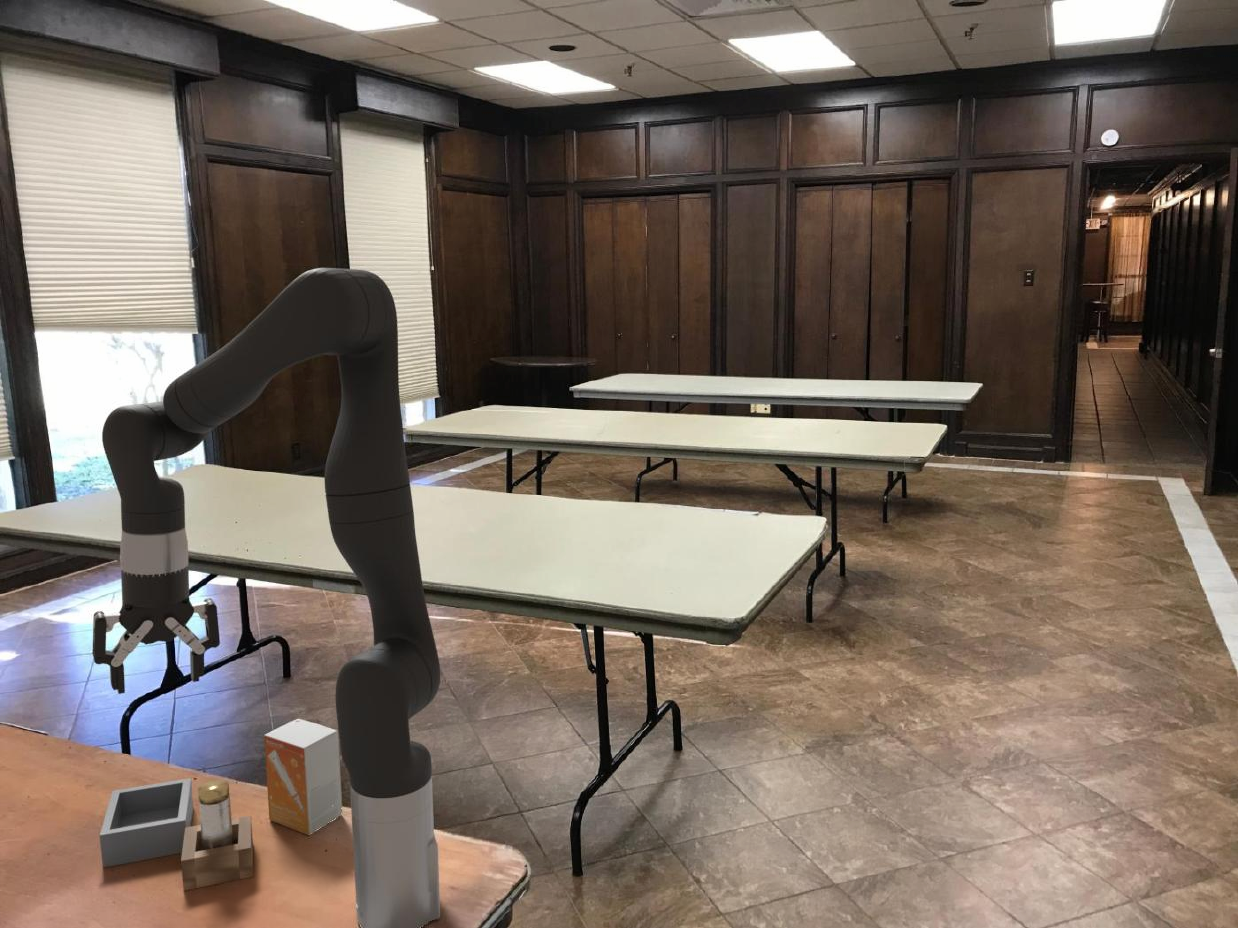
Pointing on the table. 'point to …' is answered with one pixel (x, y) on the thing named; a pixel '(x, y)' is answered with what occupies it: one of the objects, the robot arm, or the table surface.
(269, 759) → the small box
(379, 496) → the robot arm
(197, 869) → the collar
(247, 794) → the table surface
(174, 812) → the tray
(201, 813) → the gold lid glass jar
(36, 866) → the table surface
